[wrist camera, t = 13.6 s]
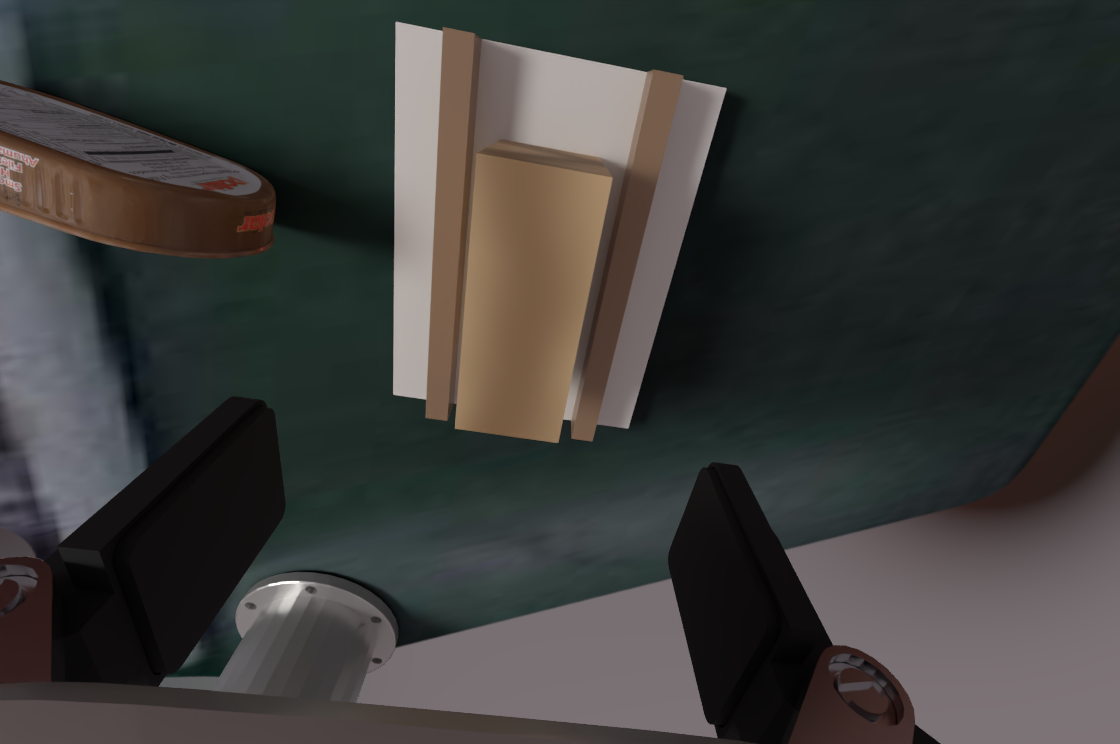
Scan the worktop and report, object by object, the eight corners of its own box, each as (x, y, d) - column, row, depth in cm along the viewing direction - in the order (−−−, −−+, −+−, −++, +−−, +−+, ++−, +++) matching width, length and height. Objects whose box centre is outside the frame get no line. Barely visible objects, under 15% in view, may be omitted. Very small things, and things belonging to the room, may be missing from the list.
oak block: (599, 157, 22) (613, 177, 16) (559, 367, 27) (558, 443, 21) (500, 139, 22) (476, 152, 16) (479, 355, 27) (455, 428, 21)
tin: (-22, 123, 23) (-300, 132, 16) (-35, 48, 22) (-348, 18, 14) (306, 237, 25) (200, 291, 18) (313, 176, 24) (202, 208, 17)
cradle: (626, 417, 31) (631, 446, 28) (399, 384, 29) (383, 411, 27) (718, 89, 22) (739, 87, 19) (404, 25, 21) (381, 14, 18)
